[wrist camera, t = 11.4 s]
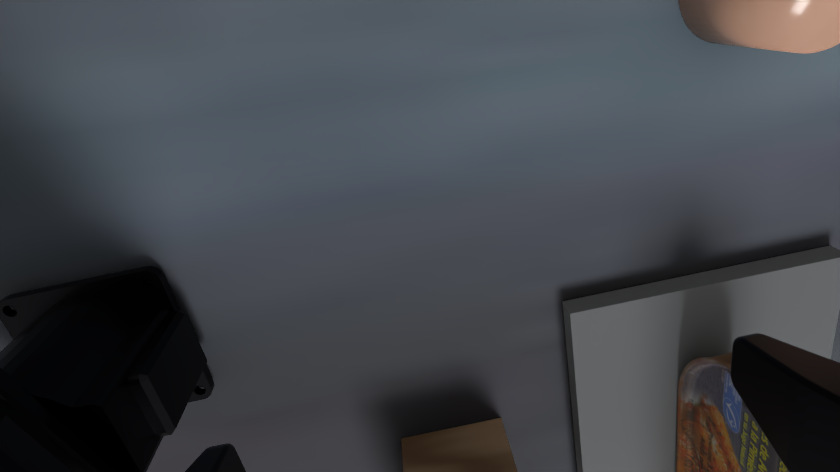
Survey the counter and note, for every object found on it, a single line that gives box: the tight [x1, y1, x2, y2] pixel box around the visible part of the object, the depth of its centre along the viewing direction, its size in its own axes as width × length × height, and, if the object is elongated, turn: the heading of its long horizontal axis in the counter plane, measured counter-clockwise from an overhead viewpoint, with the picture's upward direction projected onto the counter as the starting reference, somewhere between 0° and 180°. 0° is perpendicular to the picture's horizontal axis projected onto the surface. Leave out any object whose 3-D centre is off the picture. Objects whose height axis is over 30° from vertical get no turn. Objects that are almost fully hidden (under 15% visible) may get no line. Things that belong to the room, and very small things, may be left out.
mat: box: [562, 246, 840, 472], centre depth 26 cm, size 12×19×1 cm, turn 11°
